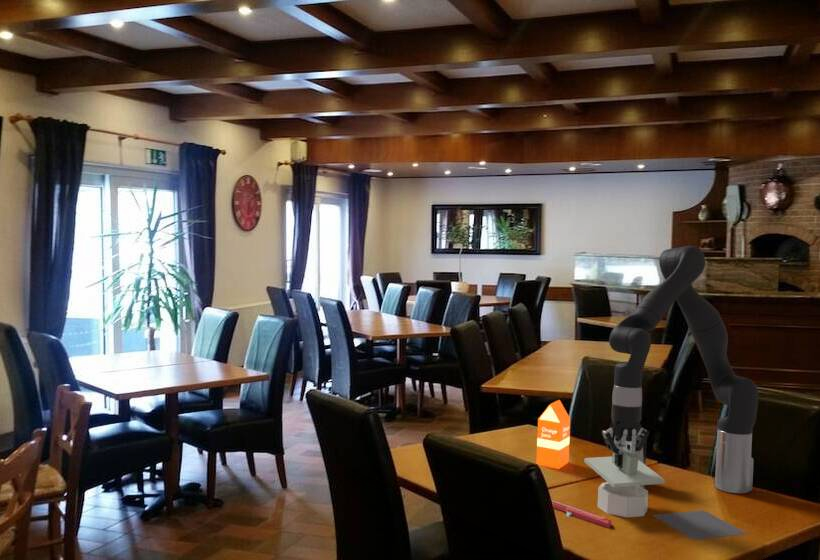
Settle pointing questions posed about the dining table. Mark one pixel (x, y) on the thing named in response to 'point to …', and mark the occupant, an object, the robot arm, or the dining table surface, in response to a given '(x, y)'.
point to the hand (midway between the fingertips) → (623, 466)
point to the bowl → (622, 500)
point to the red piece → (582, 514)
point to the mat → (699, 524)
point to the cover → (624, 470)
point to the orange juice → (553, 436)
